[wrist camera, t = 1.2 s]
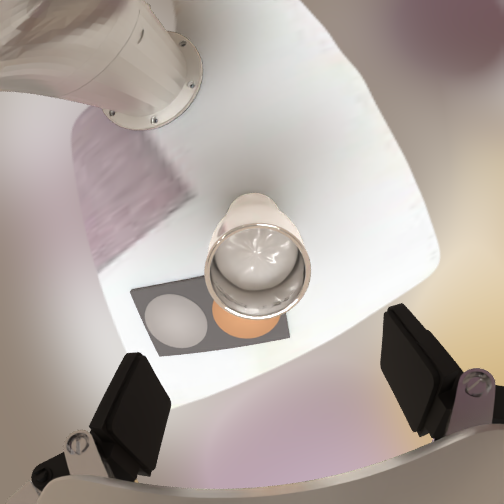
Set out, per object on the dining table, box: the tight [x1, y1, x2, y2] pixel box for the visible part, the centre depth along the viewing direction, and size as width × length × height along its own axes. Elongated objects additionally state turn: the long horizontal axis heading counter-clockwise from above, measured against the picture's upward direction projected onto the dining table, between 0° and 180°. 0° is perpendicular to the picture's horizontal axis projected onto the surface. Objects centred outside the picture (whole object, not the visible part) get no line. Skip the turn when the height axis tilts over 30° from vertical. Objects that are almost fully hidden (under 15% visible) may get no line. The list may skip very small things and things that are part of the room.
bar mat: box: [130, 276, 290, 356], centre depth 35 cm, size 11×19×1 cm, turn 102°
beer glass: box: [204, 193, 311, 320], centre depth 24 cm, size 7×7×15 cm
